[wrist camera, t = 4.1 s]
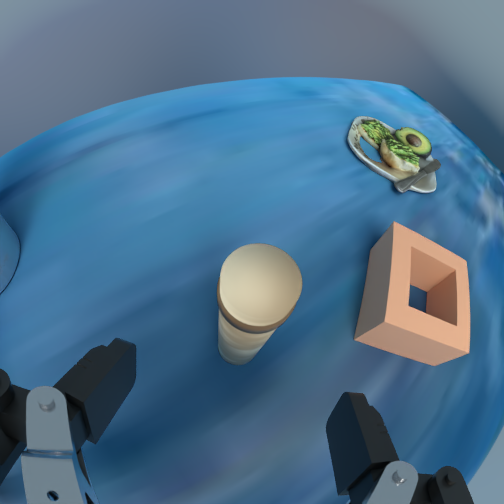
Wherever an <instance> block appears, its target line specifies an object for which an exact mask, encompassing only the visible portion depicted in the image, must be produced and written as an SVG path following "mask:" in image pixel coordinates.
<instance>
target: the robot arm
mask: <svg viewBox="0 0 504 504" xmlns="http://www.w3.org/2000/svg"><path fill="white" fill-rule="evenodd" d="M19 253H20V243H19V239H18V237H17V235H16V233H15V232H14V231H13V230H12V228H11V227H10V226H9V224H8V223H7V222H6V220H5V219H4V218H3V216H2V215H1V214H0V293H1V292H2V291H3V290H4V289H5V287H6V286H7V284H8V283H9V281H10V280H11V278H12V276H13V274H14V272H15V269H16V266H17V263H18V259H19ZM135 379H136V345H135V344H133V343H130V342H128V341H125V340H122V339H120V338H115V339H114V340H113V341H112V342H111V343H110V344H109V345H108V346H107V347H106V346H104V345H100V346H98V347H96V348H93V349H91V350H90V351H89V352H88V353H87V354H86V355H85V356H84V357H83V359H82V358H81V359H80V360H79V361H78V362H77V365H76V364H75V365H74V366H73V367H72V368H71V369H70V370H69V371H68V372H67V373H66V374H65V375H64V376H63V377H62V378H61V379H60V380H59V381H58V382H57V383H56V384H55V385H54V386H53V387H50V386H40V387H36V388H34V389H33V390H31V391H30V390H27V389H24V388H21V387H18V386H16V385H13V384H11V381H10V378H9V376H8V374H7V373H6V372H5V371H4V370H2V369H0V485H1V484H2V482H3V480H4V479H5V477H6V476H7V474H8V473H9V471H10V469H11V468H12V466H13V465H14V463H15V462H16V460H17V459H18V457H19V456H20V455H21V463H22V473H23V480H24V487H25V493H26V498H27V503H28V504H100V503H99V501H98V498H97V496H96V494H95V492H94V489H93V486H92V483H91V479H90V476H89V473H88V469H87V465H86V461H85V457H84V453H83V449H82V445H83V444H84V442H85V441H86V440H88V441H90V442H92V443H94V444H96V443H97V442H98V440H99V439H100V437H101V435H102V434H103V432H104V431H105V429H106V428H107V426H108V424H109V423H110V421H111V420H112V418H113V417H114V415H115V414H116V412H117V410H118V409H119V407H120V406H121V404H122V403H123V401H124V400H125V398H126V397H127V395H128V394H129V392H130V391H131V389H132V387H133V385H134V382H135ZM387 432H388V431H387V429H386V426H384V422H383V419H382V417H381V415H380V414H379V412H378V411H377V410H376V409H375V408H374V407H373V406H369V404H368V402H367V399H366V397H365V395H364V394H363V393H352V392H345V393H343V394H342V396H341V398H340V399H339V401H338V403H337V405H336V406H335V408H334V410H333V411H332V413H331V415H330V416H329V418H328V421H327V425H326V433H327V438H328V443H329V449H330V454H331V459H332V465H333V470H334V476H335V481H336V487H337V493H338V496H339V495H349V496H350V500H349V501H348V502H347V503H346V504H474V503H473V500H472V497H471V495H470V492H469V490H468V488H467V485H466V483H465V481H464V478H463V476H462V474H461V473H460V472H459V471H458V470H457V469H456V468H454V467H451V466H445V467H442V468H441V469H439V470H438V471H437V472H436V473H435V474H434V475H430V474H418V473H417V471H416V469H415V468H414V467H413V466H412V465H410V464H409V463H407V462H404V461H400V460H399V458H398V456H397V453H396V451H395V448H394V446H393V443H392V441H391V438H390V436H389V434H388V433H387ZM26 446H27V451H23V450H24V449H25V447H26ZM21 453H22V454H21Z"/></svg>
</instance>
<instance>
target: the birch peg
mask: <svg viewBox="0 0 504 504" xmlns="http://www.w3.org/2000/svg"><path fill="white" fill-rule="evenodd" d="M301 290H302V277H301V273H300V270H299V268H298V266H297V264H296V263H295V261H294V260H293V259H292V258H291V257H290V256H289V255H288V254H287V253H286V252H284V251H283V250H281V249H279V248H277V247H275V246H272V245H268V244H261V243H255V244H249V245H245V246H242V247H240V248H238V249H236V250H235V251H233V252H232V253H231V254H230V255H229V256H228V257H227V259H226V260H225V262H224V264H223V266H222V269H221V274H220V277H219V280H218V285H217V302H218V307H219V324H218V350H219V353H220V355H221V357H222V358H223V359H224V360H225V361H226V362H228V363H230V364H233V365H243V364H246V363H248V362H249V361H251V360H252V359H253V358H254V356H255V355H256V354H257V353H258V351H259V350H260V349H261V348H262V346H263V345H264V344H265V343H266V341H267V340H268V339H269V338H270V336H271V335H272V334H273V332H274V331H275V330H276V329H277V328H278V327H280V326H281V325H282V324H283V323H284V322H285V321H286V319H287V318H288V317H289V316H290V314H291V313H292V311H293V310H294V308H295V305H296V302H297V300H298V299H299V296H300V294H301Z"/></svg>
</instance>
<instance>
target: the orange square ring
mask: <svg viewBox="0 0 504 504" xmlns="http://www.w3.org/2000/svg"><path fill="white" fill-rule="evenodd" d="M410 284H411V285H413V286H415V287H418V288H420V289H422V290H424V291H426V292H427V303H426V313H424V312H422V311H419V310H417V309H414V308H412V307H410V306H408V302H409V289H410ZM354 340H356V341H359V342H362V343H364V344H367V345H370V346H373V347H376V348H379V349H382V350H385V351H388V352H391V353H394V354H397V355H400V356H403V357H406V358H410V359H413V360H416V361H419V362H422V363H426V364H429V365H432V366H435V365H438V364H441V363H444V362H447V361H450V360H452V359H455V358H458V357H460V356H463V355H465V354H468V353H469V345H470V298H469V282H468V271H467V262H466V260H464V259H462V258H461V257H459V256H457V255H456V254H454V253H452V252H450V251H449V250H447V249H445V248H443V247H442V246H440V245H438V244H436V243H434V242H433V241H431V240H429V239H427V238H425V237H423V236H422V235H420V234H418V233H416V232H414V231H412V230H410V229H408V228H406V227H404V226H402V225H400V224H398V223H396V222H393V223H392V224H391V225H390V227H389V228H388V229H387V230H386V232H385V233H384V234H383V235H382V237H381V238H380V239H379V240H378V241H377V243H376V244H375V245H374V246H373V247H372V249H371V250H370V256H369V263H368V269H367V275H366V281H365V287H364V293H363V298H362V303H361V308H360V313H359V318H358V323H357V327H356V332H355V336H354Z"/></svg>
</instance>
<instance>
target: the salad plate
mask: <svg viewBox="0 0 504 504" xmlns="http://www.w3.org/2000/svg"><path fill="white" fill-rule="evenodd" d="M360 137H362V138H363V139H364V140H365V141H367V142H368V143H369V144H370V145H372V146H373V147H374V148H375V149H376V150H378V152H379V154H380V155H381V158H380V160H381V161H382V163H379V162H376V161H373V160H372V159H370V158H369V157H368V156H367V155H366V154H365V153H364V151H363V150H362V148H361V146H360V143H359V141H360ZM347 141H348V143H349V146H350V148H351V149H352V151H353V152H354V153H355V155H356V156H357V157H358V158H359V159H360V160H361V161H362V162H363V163H364V164H365V165H366V166H367V167H368V168H370V169H371V170H372V171H374V172H376V173H377V174H379V175H381V176H383V177H385V178H386V179H388V180H390V181H391V182H393V183H394V186H395V188H396V189H397V190H398V191H399V192H401V193H404V192H406V191H407V190H413V191H416V192H420V193H432V192H433V191H434V190H435V189H436V176H435V170H438V169H439V168H440V166H441V164H440V162H439V161H438V160H437V159H433V158H432V157H431V155H430V154H431V151H432V147H431V143H430V141H429V140H428V138H427V137H426V136H425V135H423V134H422V133H420V132H419V131H417V130H415V129H412V128H409V127H405V128H403V127H401V129H398V130H395V129H393V128H392V127H390V126H388V125H386V124H385V123H383V122H381V121H379V120H377V119H375V118H372V117H367V116H360V117H357V118H355V119H354V121H353V122H352V124H351V128H350V131H349V133H348V138H347Z"/></svg>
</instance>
